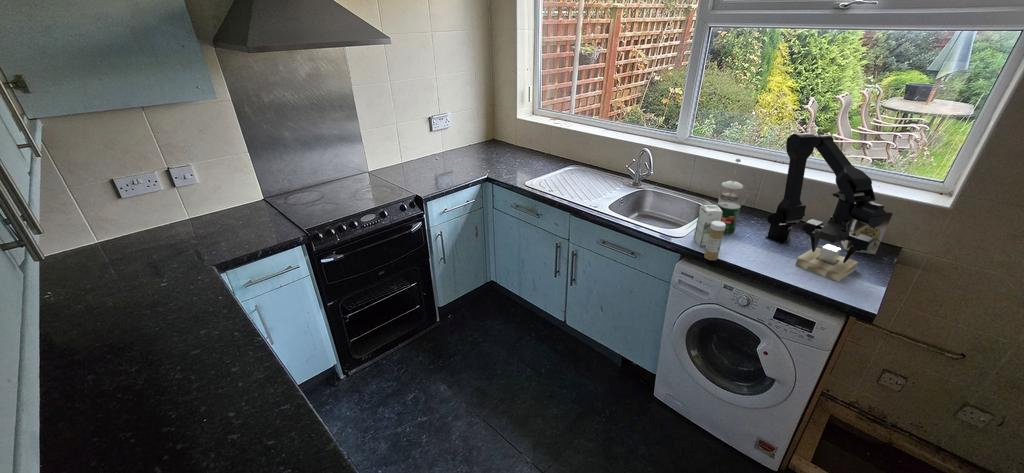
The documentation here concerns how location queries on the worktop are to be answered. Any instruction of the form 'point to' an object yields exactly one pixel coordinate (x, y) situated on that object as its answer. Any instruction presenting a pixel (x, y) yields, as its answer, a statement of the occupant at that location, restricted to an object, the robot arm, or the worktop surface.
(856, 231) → the cookie box
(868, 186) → the robot arm
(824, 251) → the grey rectangular block
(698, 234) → the syrup box
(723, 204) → the canned tomato
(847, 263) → the well block
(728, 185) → the french press
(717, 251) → the sprinkles bottle
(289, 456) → the worktop surface
